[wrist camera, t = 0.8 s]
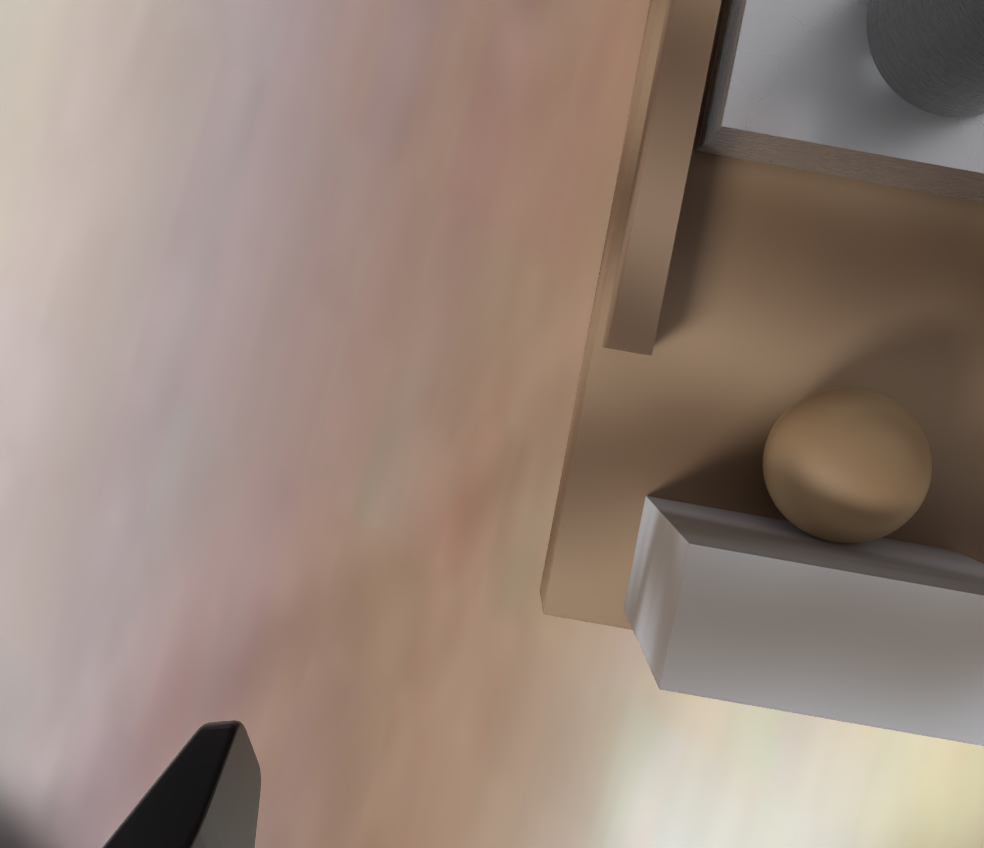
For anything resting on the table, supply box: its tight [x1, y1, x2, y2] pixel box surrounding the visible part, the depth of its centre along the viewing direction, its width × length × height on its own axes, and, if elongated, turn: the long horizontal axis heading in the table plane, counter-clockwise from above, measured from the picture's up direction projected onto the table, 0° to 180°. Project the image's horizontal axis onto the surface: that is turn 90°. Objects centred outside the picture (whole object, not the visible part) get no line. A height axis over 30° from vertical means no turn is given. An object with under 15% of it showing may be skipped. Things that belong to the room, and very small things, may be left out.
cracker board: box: [540, 0, 984, 746], centre depth 19 cm, size 20×12×7 cm, turn 170°
